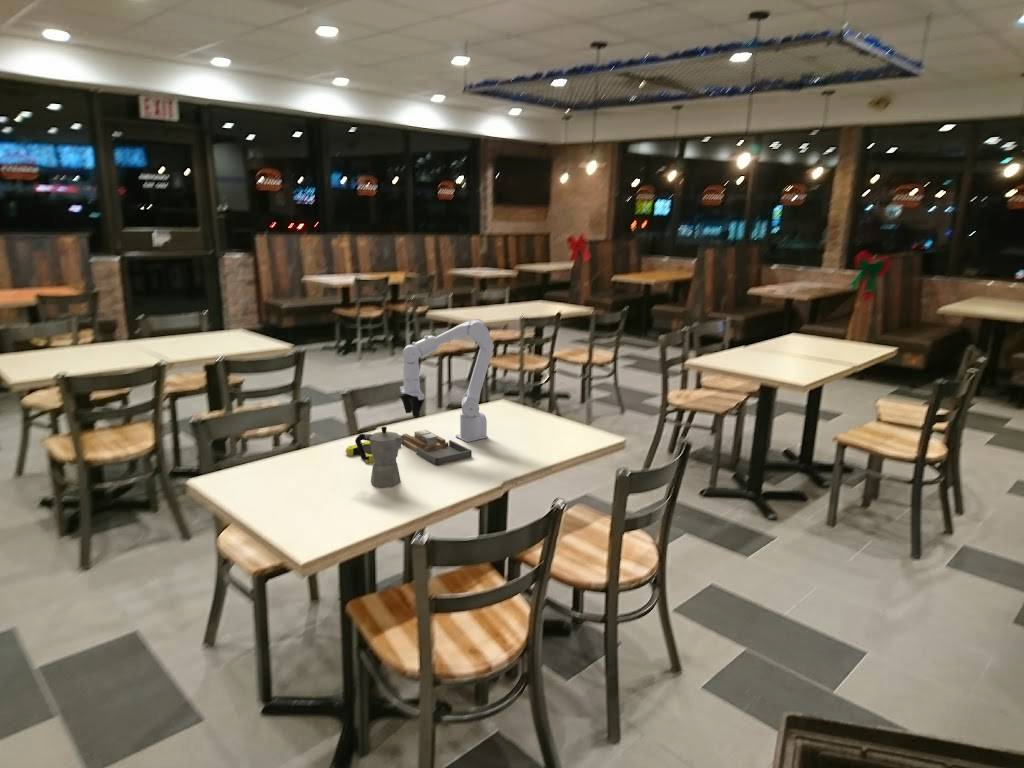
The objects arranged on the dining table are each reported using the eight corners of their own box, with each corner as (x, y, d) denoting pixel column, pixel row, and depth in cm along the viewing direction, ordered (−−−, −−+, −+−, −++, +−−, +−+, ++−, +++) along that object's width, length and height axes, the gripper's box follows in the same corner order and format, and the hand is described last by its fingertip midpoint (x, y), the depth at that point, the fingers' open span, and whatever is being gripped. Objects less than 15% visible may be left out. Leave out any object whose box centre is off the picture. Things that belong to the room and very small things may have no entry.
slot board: (428, 436, 248) (428, 429, 248) (448, 446, 237) (448, 439, 237) (399, 442, 241) (399, 434, 240) (418, 453, 230) (418, 445, 230)
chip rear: (424, 437, 242) (424, 429, 242) (430, 440, 239) (429, 432, 239) (414, 439, 240) (414, 431, 239) (420, 442, 237) (420, 434, 236)
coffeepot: (409, 477, 210) (408, 422, 205) (404, 488, 201) (403, 432, 196) (360, 476, 210) (358, 421, 205) (353, 488, 200) (351, 431, 196)
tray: (450, 446, 238) (450, 440, 238) (471, 457, 228) (471, 450, 227) (416, 454, 230) (416, 447, 229) (436, 465, 220) (436, 458, 219)
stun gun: (414, 445, 232) (389, 434, 242) (365, 457, 219) (342, 446, 229) (414, 453, 232) (390, 442, 243) (366, 466, 219) (342, 454, 230)
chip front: (431, 441, 239) (431, 433, 238) (437, 444, 236) (437, 436, 235) (421, 443, 236) (421, 435, 236) (427, 446, 233) (427, 438, 232)
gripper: (392, 375, 243) (393, 411, 246) (411, 383, 232) (412, 421, 235) (409, 373, 247) (410, 408, 251) (429, 381, 236) (429, 417, 239)
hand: (412, 414), depth 243 cm, fingers open, 5 cm apart
